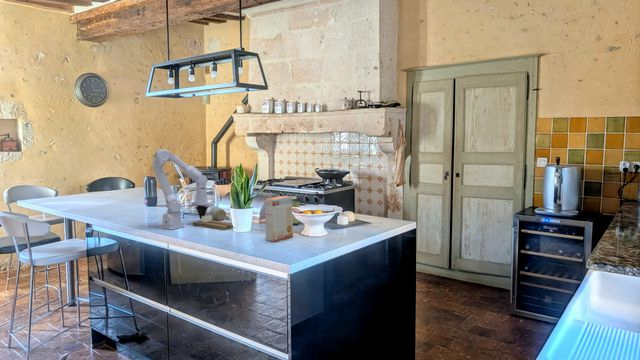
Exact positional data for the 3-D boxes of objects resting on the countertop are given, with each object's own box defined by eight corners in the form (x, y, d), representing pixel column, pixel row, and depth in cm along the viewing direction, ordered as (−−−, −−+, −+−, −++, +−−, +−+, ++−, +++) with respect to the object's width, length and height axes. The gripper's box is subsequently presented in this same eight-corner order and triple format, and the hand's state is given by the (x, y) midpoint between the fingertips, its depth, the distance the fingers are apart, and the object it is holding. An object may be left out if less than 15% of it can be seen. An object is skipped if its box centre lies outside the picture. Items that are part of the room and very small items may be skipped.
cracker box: (284, 235, 234) (284, 195, 232) (293, 237, 231) (293, 196, 229) (264, 240, 224) (264, 198, 222) (273, 242, 220) (273, 199, 218)
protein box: (298, 225, 260) (298, 198, 258) (271, 225, 259) (271, 198, 258) (299, 222, 270) (299, 196, 268) (273, 222, 270) (272, 196, 268)
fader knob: (205, 222, 258) (205, 216, 258) (201, 221, 260) (201, 215, 260) (212, 220, 262) (211, 215, 262) (208, 220, 264) (208, 214, 264)
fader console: (223, 230, 248) (223, 226, 247) (193, 225, 260) (192, 222, 260) (236, 227, 256) (236, 223, 256) (206, 222, 269) (206, 219, 269)
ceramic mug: (216, 221, 273) (216, 208, 272) (209, 219, 279) (209, 207, 278) (231, 219, 280) (231, 207, 279) (224, 217, 286) (224, 205, 285)
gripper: (215, 195, 261) (216, 218, 263) (197, 193, 269) (198, 216, 270) (206, 196, 255) (207, 220, 257) (188, 195, 263) (189, 218, 265)
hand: (202, 218), depth 263 cm, fingers closed
